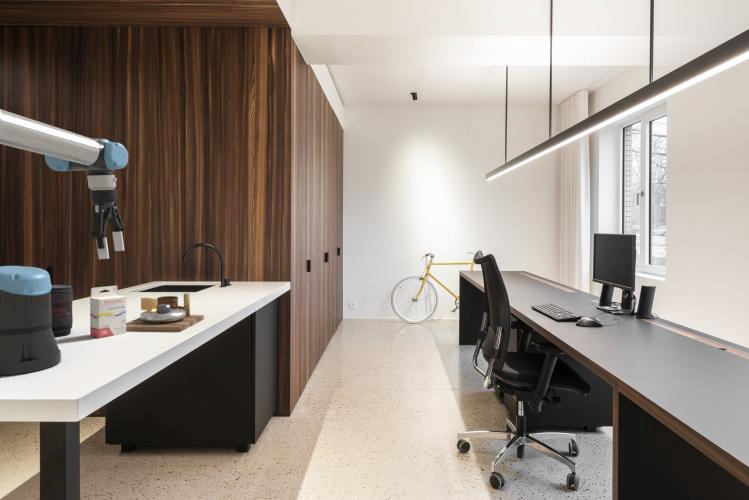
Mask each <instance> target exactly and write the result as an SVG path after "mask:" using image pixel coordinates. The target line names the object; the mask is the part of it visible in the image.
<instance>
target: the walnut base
mask: <svg viewBox="0 0 749 500" xmlns="http://www.w3.org/2000/svg"><path fill="white" fill-rule="evenodd" d="M190 296H191V295H190V293H189V292H188V293H187V292H186V293H183V307H184V310H185V311H186V318H184V319H181V320H177V321H170V322H143V321H141V317H138V318H135V319H133V320H131V321H128V322H126V332H173V333H174V332H175V333H176V332H179V333H180V332H182V331H184V330H187V329H188V328H190V327H192V326H195V325H196V324H197V323H199V322H201V321H203V320H205V314H191V305H190V304H191V301H190V300H191V299H190Z"/></svg>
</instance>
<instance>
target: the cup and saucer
mask: <svg viewBox="0 0 749 500" xmlns="http://www.w3.org/2000/svg"><path fill="white" fill-rule="evenodd" d="M156 299H157V305H162V304H169V305H171V309H182V310H184V306H181V305H179V297H178V296H177V295H176V296H175V295H171V296H170V295H169V296H168V295H167V296H158V297H157V298H156Z"/></svg>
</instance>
